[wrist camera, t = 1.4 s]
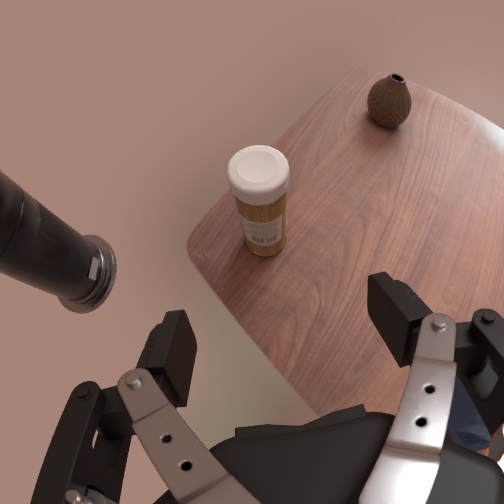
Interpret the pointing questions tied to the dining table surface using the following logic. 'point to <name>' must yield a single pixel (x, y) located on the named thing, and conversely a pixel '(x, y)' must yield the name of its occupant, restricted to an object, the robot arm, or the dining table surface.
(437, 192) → the dining table surface
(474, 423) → the pan
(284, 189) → the sprinkles bottle
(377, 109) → the vase
